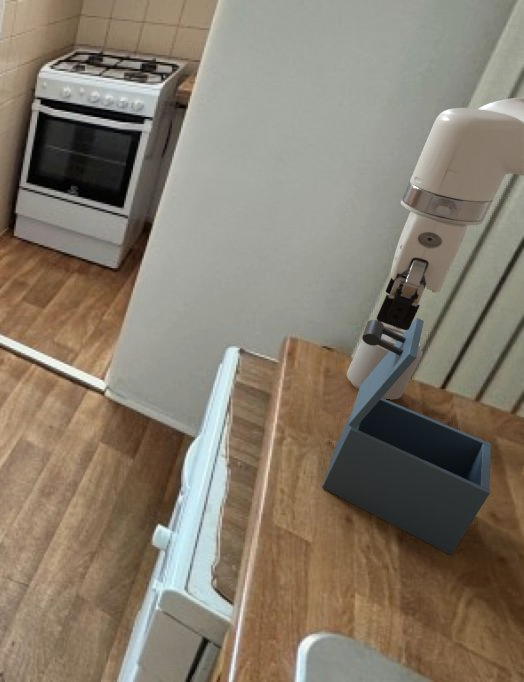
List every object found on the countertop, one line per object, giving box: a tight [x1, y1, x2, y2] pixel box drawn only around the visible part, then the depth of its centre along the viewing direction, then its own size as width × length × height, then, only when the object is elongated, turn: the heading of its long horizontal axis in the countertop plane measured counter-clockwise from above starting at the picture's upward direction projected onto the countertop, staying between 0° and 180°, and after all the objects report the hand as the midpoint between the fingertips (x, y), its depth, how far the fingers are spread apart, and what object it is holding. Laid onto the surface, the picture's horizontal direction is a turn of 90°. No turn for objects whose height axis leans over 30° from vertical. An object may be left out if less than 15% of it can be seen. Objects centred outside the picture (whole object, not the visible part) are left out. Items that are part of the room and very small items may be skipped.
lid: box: [348, 317, 425, 428], centre depth 88 cm, size 14×12×5 cm
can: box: [346, 325, 424, 400], centre depth 108 cm, size 8×8×12 cm
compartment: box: [321, 398, 492, 556], centre depth 88 cm, size 14×12×12 cm
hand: (396, 310), depth 85 cm, fingers open, 9 cm apart
